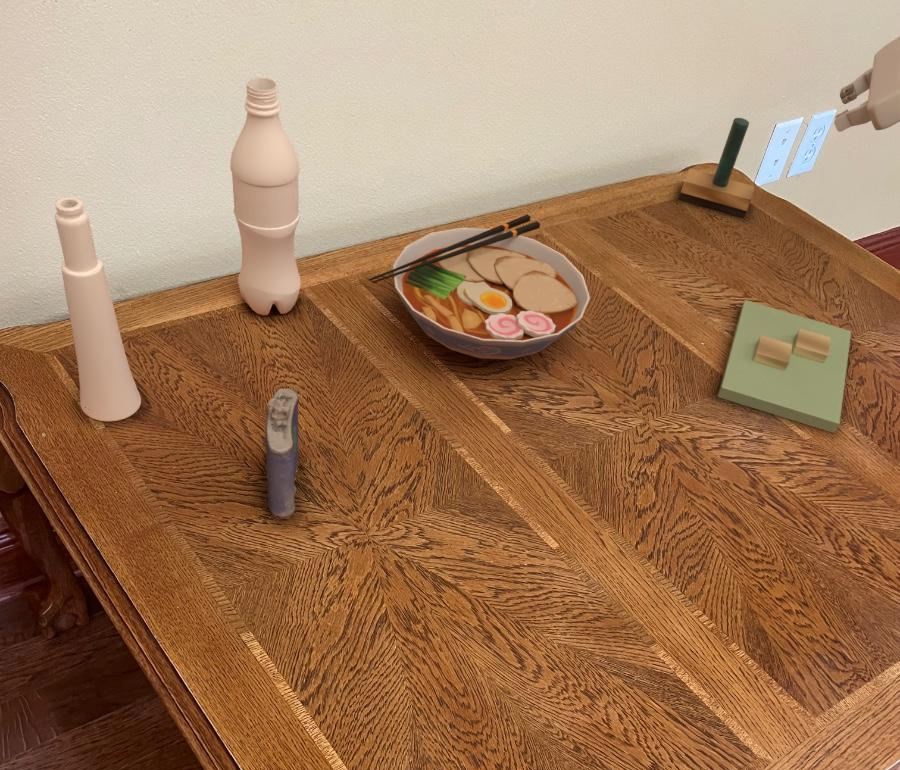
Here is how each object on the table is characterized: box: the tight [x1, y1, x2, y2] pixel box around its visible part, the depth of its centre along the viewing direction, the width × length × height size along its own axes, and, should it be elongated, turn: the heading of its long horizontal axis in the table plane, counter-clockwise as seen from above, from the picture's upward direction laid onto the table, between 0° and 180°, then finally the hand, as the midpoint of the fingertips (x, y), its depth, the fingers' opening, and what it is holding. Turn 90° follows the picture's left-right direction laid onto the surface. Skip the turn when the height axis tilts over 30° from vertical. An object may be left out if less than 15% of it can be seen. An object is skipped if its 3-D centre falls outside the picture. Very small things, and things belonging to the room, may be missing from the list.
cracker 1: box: [753, 336, 792, 370], centre depth 114 cm, size 4×4×1 cm
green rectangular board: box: [717, 299, 852, 434], centre depth 115 cm, size 20×14×2 cm
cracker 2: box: [792, 329, 830, 363], centre depth 116 cm, size 4×4×1 cm
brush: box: [678, 117, 756, 219], centre depth 136 cm, size 10×4×12 cm, turn 71°
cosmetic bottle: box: [54, 196, 142, 422], centre depth 89 cm, size 6×6×22 cm
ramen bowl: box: [369, 214, 591, 360], centre depth 110 cm, size 25×23×8 cm
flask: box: [264, 387, 300, 520], centre depth 89 cm, size 9×3×11 cm, turn 2°
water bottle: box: [229, 76, 302, 316], centre depth 102 cm, size 7×7×25 cm
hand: (838, 110), depth 126 cm, fingers open, 8 cm apart
